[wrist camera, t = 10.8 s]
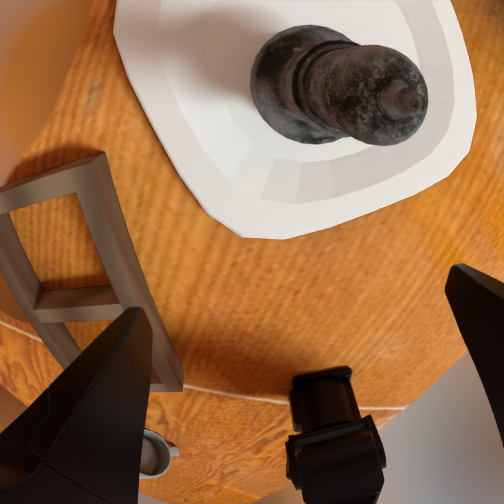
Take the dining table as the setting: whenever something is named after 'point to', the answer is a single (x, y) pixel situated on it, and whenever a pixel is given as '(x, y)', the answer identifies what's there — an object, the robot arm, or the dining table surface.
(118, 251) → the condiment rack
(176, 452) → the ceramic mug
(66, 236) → the dining table surface
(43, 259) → the dining table surface
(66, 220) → the dining table surface
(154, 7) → the plate
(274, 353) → the dining table surface
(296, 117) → the salt shaker
